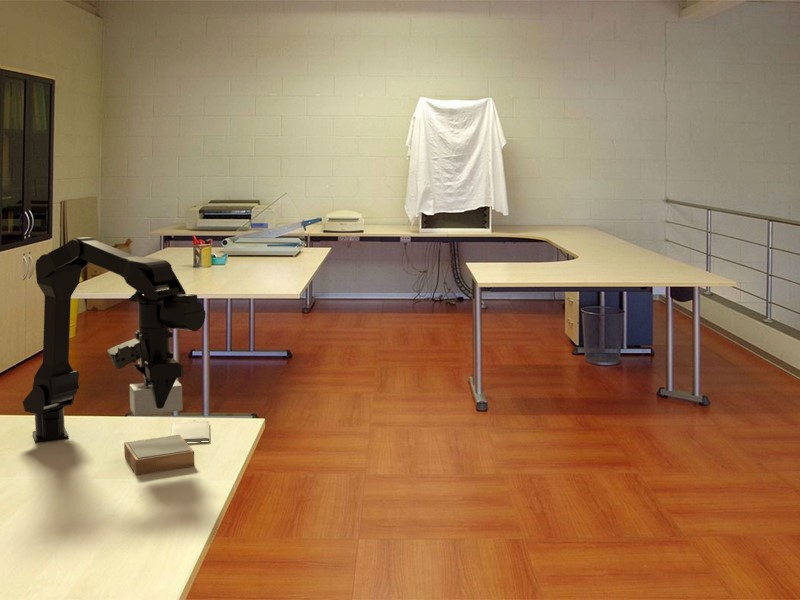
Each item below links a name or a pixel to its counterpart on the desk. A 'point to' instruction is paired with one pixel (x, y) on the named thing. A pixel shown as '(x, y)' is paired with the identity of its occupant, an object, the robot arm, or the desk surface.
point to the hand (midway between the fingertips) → (156, 404)
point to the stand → (158, 454)
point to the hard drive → (191, 430)
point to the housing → (153, 399)
